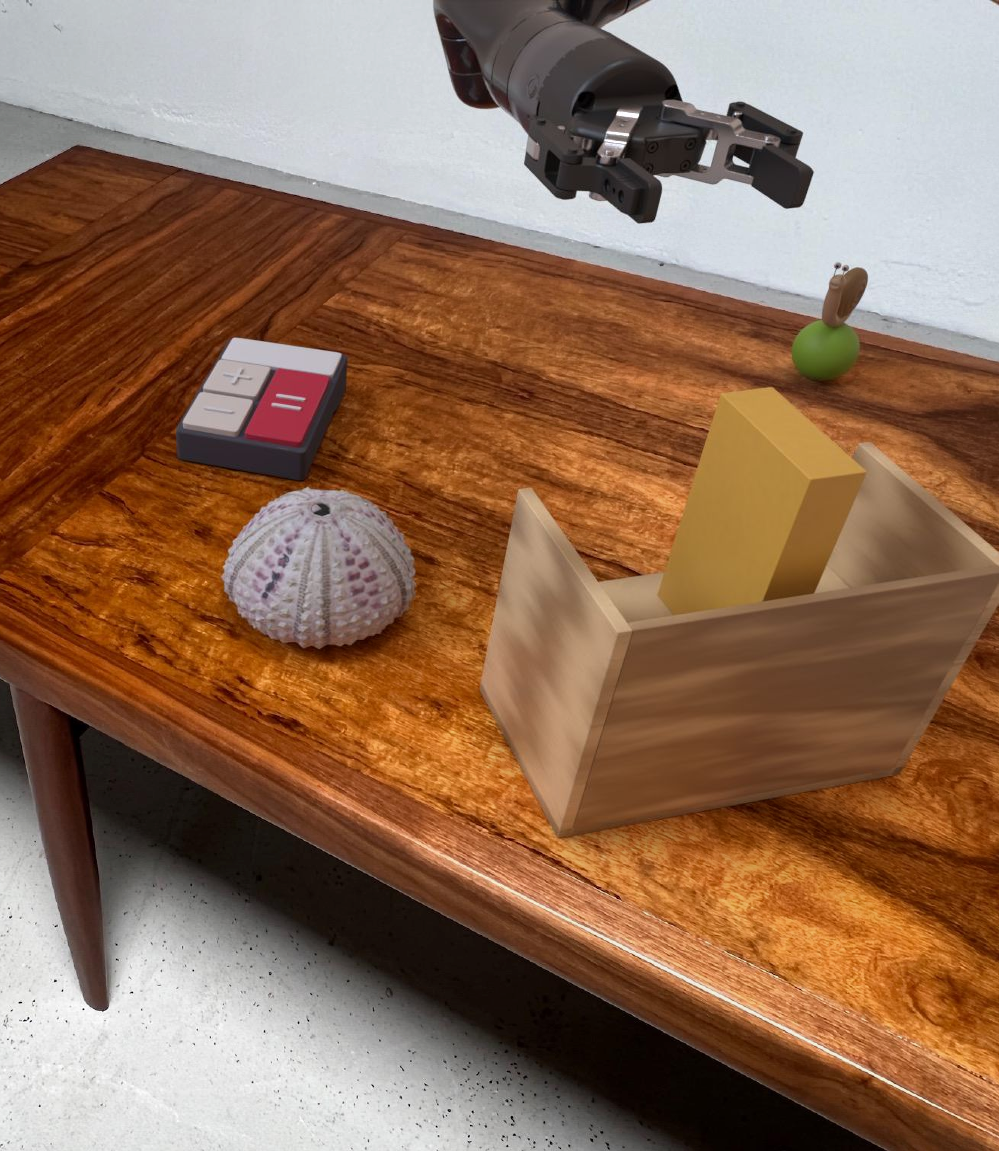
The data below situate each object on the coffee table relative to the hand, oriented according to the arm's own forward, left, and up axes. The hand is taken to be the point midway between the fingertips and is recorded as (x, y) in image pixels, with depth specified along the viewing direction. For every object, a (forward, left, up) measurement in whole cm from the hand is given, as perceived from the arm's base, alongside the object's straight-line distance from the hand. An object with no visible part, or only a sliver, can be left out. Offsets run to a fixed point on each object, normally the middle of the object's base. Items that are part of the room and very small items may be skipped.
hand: (727, 198), depth 58 cm
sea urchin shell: (+13, -15, -30) cm, 36 cm away
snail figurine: (-42, -6, -30) cm, 52 cm away
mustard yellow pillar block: (+5, +9, -22) cm, 24 cm away
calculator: (0, -34, -30) cm, 46 cm away
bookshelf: (+5, +9, -30) cm, 32 cm away
